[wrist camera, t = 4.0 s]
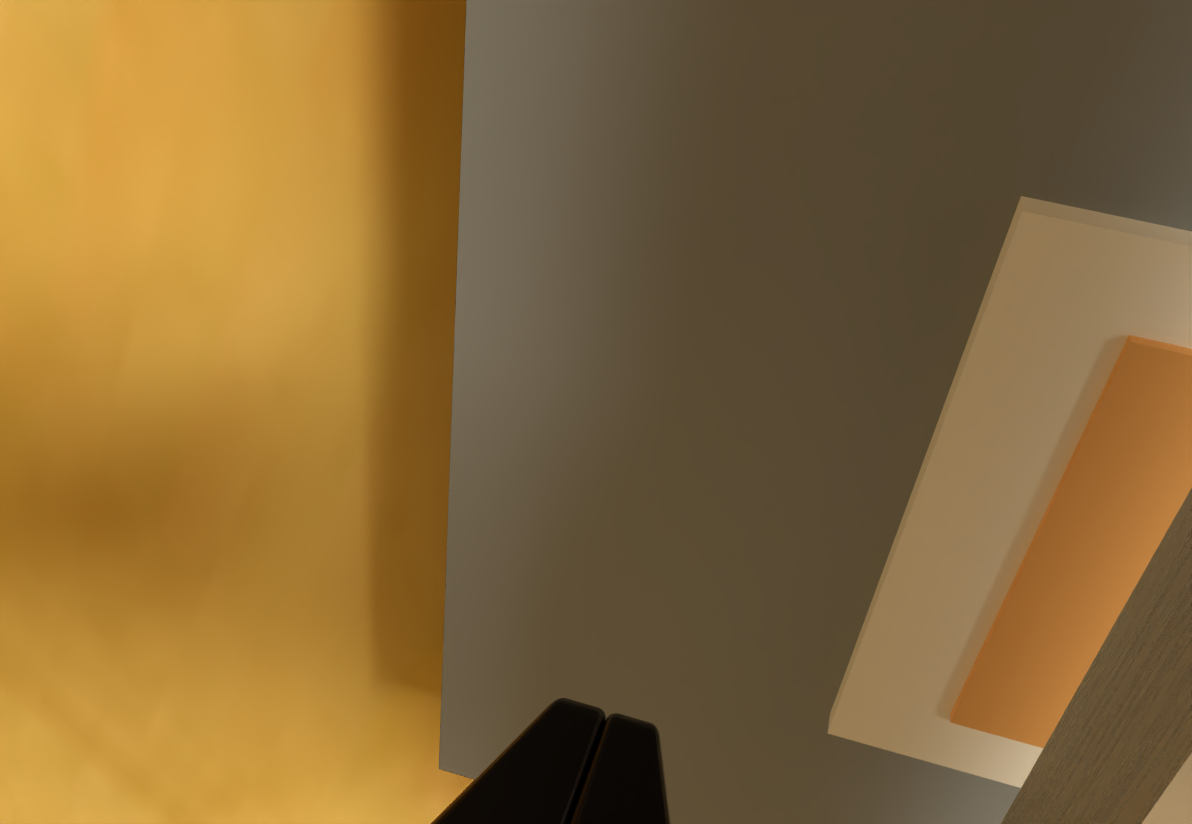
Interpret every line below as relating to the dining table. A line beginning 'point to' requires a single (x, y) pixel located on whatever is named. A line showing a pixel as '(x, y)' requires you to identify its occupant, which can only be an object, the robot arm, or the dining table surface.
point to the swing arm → (1128, 711)
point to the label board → (813, 384)
